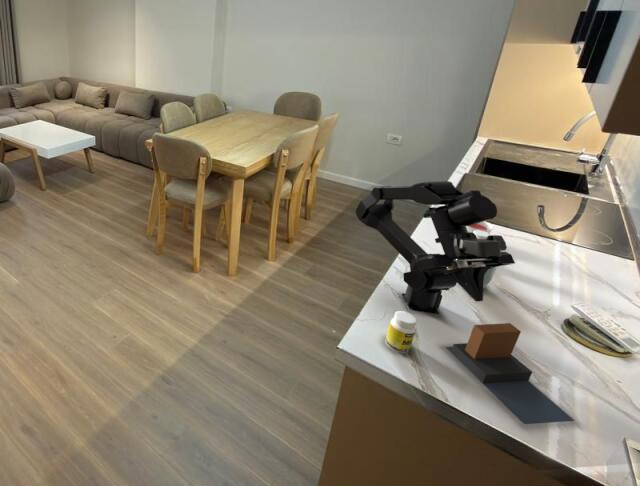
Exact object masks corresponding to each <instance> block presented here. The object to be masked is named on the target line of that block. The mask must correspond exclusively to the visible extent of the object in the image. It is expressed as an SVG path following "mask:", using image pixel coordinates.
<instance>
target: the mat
mask: <svg viewBox="0 0 640 486" xmlns="http://www.w3.org/2000/svg"><path fill="white" fill-rule="evenodd" d="M452 347H453V346H445V348H446V349H447V350H448V352H450V353H451V350H452ZM466 369H467V370H468V372H470V373H471V374H472V375H473V376H474V377H475V378H476V379H477V380H478V381H479V382H480V383H481V384H482V385H483V386H484V387H485V388H486V389H487V390H488V391H489V392H491V394H493V396H495V398H497V399H498V401H500V403H502V404H503V405H504V407H506V408H507V409H508V410H509V411H510V412H511V413H512V414H513V415H514V416H515V417H516V418H517V419H518V420H519V421H520V422H521V423H522V424H523V425H531V424H532V425H533V424H547V423H560V422H574V421H575V419H574V418H572V417H571V416H570V415H569V414H568V413H567V412H566V411H564V410H563V409H562V408H561V407H560V406H558V404H556V403H555V402H554V401H553V400H552V399H551V398H549V397H548V396H547V395H546V394H544V392H542V391H541V390H540V389H539V388H538V387H537V386H536V385H534V384H533V383H532V382H531V381H530V380H528V381H513V382H496V383H482V382H481V381H480V380H479V379H478V378H477V377H476V376H475V375H474V374H473V373H472V372H471V371H470V370H469V369H468V368H466Z"/></svg>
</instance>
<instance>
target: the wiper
mask: <svg viewBox="0 0 640 486" xmlns="http://www.w3.org/2000/svg"><path fill="white" fill-rule="evenodd" d="M521 332H522V331H521V330H520V329H518V328H517V327H516V326H514V325H513V324H512V323H510V322H505V323H487V324H474V325H473V328H472V331H471V333H470V335H469V338H468V340H467V342H466V343H465V342H464V343H453V344H452V346H451V347H452V350H451V352H450V353H451V355H452V356H453V357H454V358H456V359H457V361H459V362H460V363H461V364H462V365H463V366H464V367H465V368H466V369H467V368H468V369H469V370H470V371H471V372H472V373H473V374H474V375H475V376H476V377H477V378H478V379H479V380H480V381H481V382H482V383H496V382H513V381H530V378H531V377H532V374H533V371H532V370H531V369H529V367H527V366H526V364H524V363H523V362H521V360H519V359H517V358H516V357H515V355H513V354H512V353H513V351H514V349H515V347H516V344H517V342H518V339H519V338H520V335H521ZM468 369H467V370H468ZM469 370H468V371H469ZM470 371H469V372H470ZM471 372H470V373H471ZM472 373H471V374H472ZM473 374H472V375H473ZM474 375H473V376H474ZM475 376H474V377H475ZM476 377H475V378H476ZM477 378H476V379H477ZM478 379H477V380H478ZM479 380H478V381H479ZM480 381H479V382H480ZM481 382H480V383H481ZM482 383H481V384H482Z"/></svg>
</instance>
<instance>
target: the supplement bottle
mask: <svg viewBox="0 0 640 486" xmlns="http://www.w3.org/2000/svg"><path fill="white" fill-rule="evenodd" d="M416 324H417V318H416V317H415V316H414V315H412V314H411V313H409V312H407V311H404V310H398V311H395V312H394V316H393V318H391V320H390V322H389V326H388V330H387V333H386V336H385V340H384V342H385V344H386V345H387V347H388V348H390V349H391V350H393V351H395V352H397V353H403V354H405V353H408V352H409V351H410V349H411V346H412V343H413V340H414V338H415V334H416V331H417V328H416Z"/></svg>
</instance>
